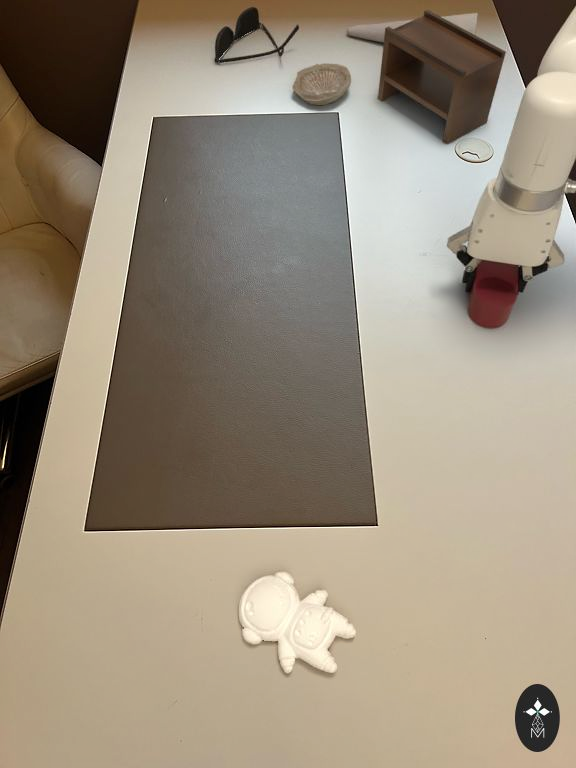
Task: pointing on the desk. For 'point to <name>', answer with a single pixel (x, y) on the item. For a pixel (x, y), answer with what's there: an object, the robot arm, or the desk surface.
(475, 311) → the red rounded block
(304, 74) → the fossil
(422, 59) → the rack
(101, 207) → the desk surface
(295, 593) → the astronaut figurine
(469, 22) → the pale tapered cone
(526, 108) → the robot arm
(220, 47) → the sunglasses
